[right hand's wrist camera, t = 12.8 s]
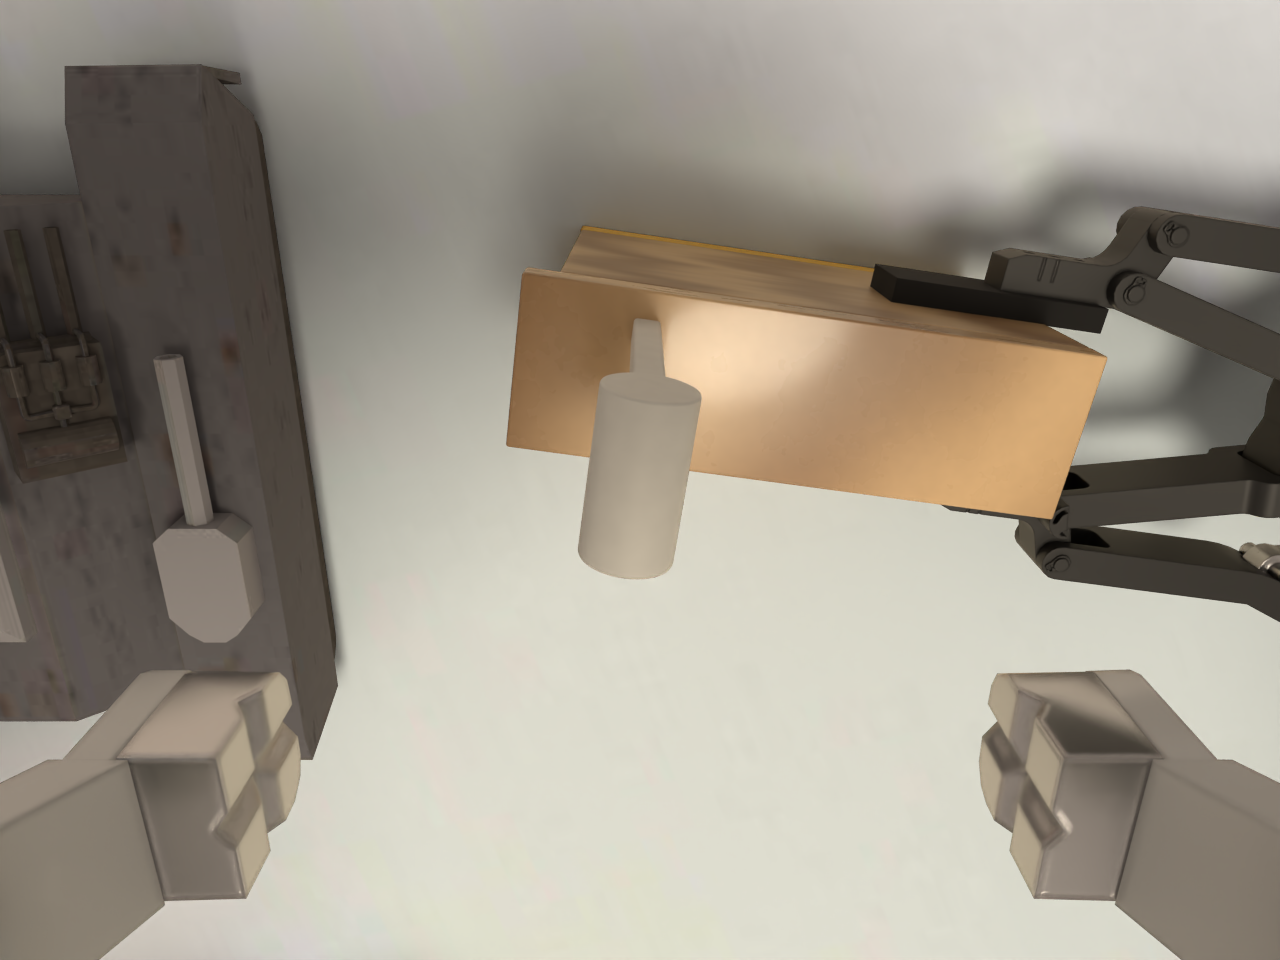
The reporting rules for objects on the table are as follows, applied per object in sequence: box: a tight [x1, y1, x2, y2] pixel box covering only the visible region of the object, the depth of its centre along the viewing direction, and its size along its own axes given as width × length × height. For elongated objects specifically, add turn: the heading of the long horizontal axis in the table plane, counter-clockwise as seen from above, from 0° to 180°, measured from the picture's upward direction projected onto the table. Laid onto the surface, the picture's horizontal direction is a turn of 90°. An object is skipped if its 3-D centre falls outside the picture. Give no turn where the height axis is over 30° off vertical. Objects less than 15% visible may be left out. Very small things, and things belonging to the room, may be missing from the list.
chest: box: [561, 226, 1088, 348], centre depth 30 cm, size 15×5×10 cm, turn 82°
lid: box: [506, 267, 1107, 579], centre depth 21 cm, size 15×5×9 cm, turn 82°
